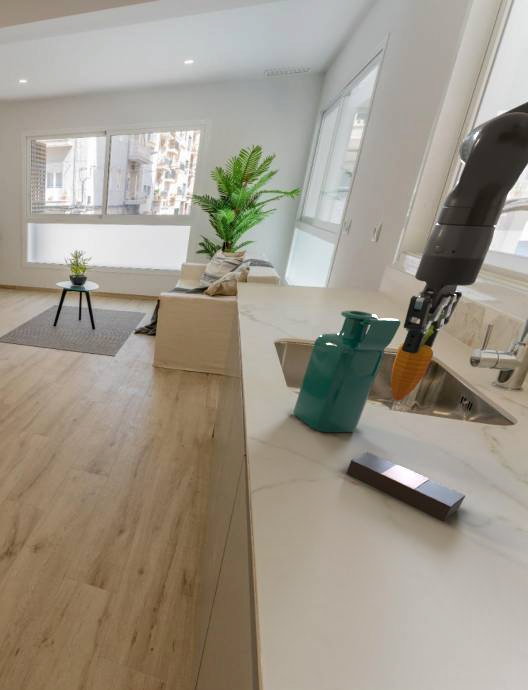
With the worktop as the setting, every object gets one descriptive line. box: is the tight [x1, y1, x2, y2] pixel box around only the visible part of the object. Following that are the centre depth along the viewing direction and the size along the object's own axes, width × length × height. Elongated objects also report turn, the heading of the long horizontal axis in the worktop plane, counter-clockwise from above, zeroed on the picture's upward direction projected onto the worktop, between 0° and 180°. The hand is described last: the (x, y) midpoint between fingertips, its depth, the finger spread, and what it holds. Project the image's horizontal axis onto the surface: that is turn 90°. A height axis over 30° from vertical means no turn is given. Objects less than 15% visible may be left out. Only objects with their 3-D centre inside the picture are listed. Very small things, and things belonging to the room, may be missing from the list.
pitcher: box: [293, 309, 401, 433], centre depth 77 cm, size 10×8×22 cm
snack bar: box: [346, 451, 466, 522], centre depth 63 cm, size 5×12×3 cm, turn 29°
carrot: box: [390, 325, 434, 402], centre depth 78 cm, size 5×5×15 cm
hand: (416, 349), depth 77 cm, fingers closed on carrot, 5 cm apart
